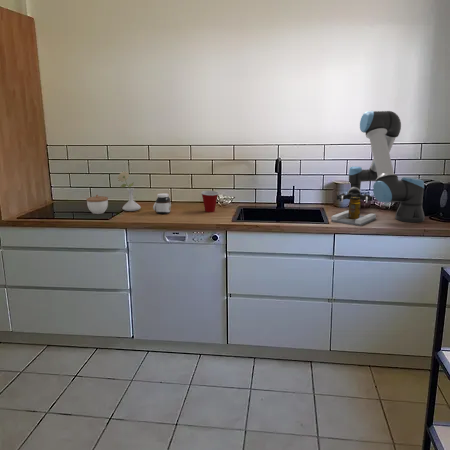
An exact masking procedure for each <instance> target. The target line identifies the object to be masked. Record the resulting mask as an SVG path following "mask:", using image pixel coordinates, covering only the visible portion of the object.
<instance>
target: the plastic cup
mask: <svg viewBox="0 0 450 450" xmlns="http://www.w3.org/2000/svg"><path fill="white" fill-rule="evenodd" d="M219 193H220V192H218V191H215V190H203V191H201V192H200V194H201V196H202V201H203V206H204V211H205V213H214V212H215V211H216V205H217V199H218V196H219Z"/></svg>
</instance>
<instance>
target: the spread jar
mask: <svg viewBox="0 0 450 450" xmlns="http://www.w3.org/2000/svg"><path fill="white" fill-rule="evenodd" d="M156 195H157V196H156V197H157V198H156V200H155V202H154V204H153V206H152V209H153V211H155V212H156V213H157V214H158V215H168V214H170V213H171V210H172V203H171V202H172V201H171V198H170V197H169V196H170V195H169V193H166V192H165V193H157V194H156Z"/></svg>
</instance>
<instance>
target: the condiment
mask: <svg viewBox="0 0 450 450" xmlns="http://www.w3.org/2000/svg"><path fill="white" fill-rule="evenodd" d="M348 203H349V204H348V210H349V215H348V217H345V218H344V219H348V220H356V219H358V218H359V217H360V215H361V200H360V197H350V199H349V202H348Z"/></svg>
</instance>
